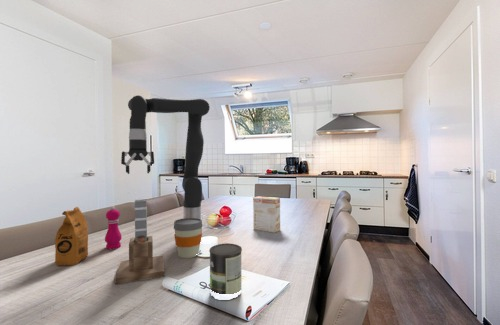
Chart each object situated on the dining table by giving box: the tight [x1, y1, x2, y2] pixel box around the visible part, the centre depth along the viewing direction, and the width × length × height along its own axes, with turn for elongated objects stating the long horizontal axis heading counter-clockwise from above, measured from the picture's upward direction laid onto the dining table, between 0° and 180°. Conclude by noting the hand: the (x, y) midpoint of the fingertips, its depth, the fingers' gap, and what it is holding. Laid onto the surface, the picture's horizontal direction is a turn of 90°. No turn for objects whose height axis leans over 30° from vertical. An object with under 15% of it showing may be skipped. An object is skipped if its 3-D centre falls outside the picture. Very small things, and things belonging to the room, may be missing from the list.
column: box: [134, 198, 148, 242], centre depth 98 cm, size 4×4×18 cm
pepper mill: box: [104, 205, 123, 250], centre depth 125 cm, size 7×7×20 cm
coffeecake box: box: [252, 195, 281, 234], centre depth 154 cm, size 15×7×20 cm, turn 58°
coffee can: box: [209, 242, 243, 294], centre depth 82 cm, size 10×10×14 cm
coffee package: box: [54, 206, 89, 267], centre depth 109 cm, size 10×12×22 cm
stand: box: [114, 235, 165, 285], centre depth 98 cm, size 16×16×14 cm
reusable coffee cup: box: [173, 218, 203, 259], centre depth 115 cm, size 12×13×15 cm
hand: (138, 173), depth 121 cm, fingers open, 8 cm apart
